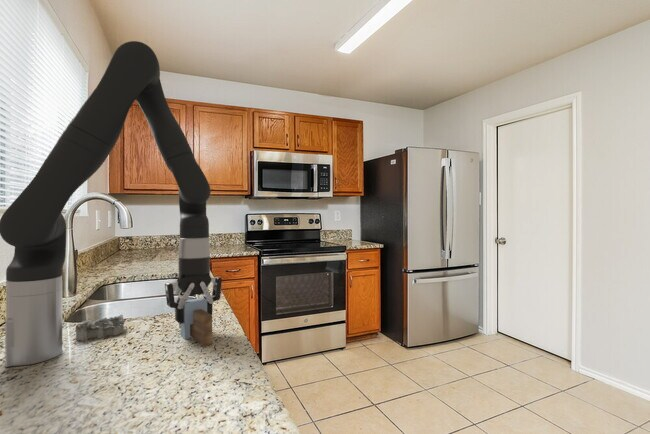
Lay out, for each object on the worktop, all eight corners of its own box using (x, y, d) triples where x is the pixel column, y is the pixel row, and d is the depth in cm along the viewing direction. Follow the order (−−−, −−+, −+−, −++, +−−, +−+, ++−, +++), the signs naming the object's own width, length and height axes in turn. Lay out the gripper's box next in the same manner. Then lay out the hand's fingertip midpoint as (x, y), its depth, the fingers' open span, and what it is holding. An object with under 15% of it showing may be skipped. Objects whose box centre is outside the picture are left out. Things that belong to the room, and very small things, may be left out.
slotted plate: (203, 346, 79) (203, 316, 79) (179, 327, 93) (179, 301, 93) (212, 344, 80) (212, 315, 80) (186, 325, 94) (186, 300, 94)
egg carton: (73, 343, 82) (73, 326, 82) (77, 334, 88) (76, 318, 88) (124, 335, 87) (124, 319, 87) (124, 326, 94) (124, 312, 94)
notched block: (184, 339, 83) (184, 303, 83) (180, 336, 86) (180, 301, 86) (207, 334, 87) (207, 299, 87) (202, 331, 89) (202, 297, 89)
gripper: (169, 259, 79) (169, 330, 79) (227, 254, 88) (227, 318, 88) (160, 256, 84) (160, 322, 85) (215, 252, 94) (215, 312, 94)
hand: (194, 320), depth 86 cm, fingers open, 6 cm apart
